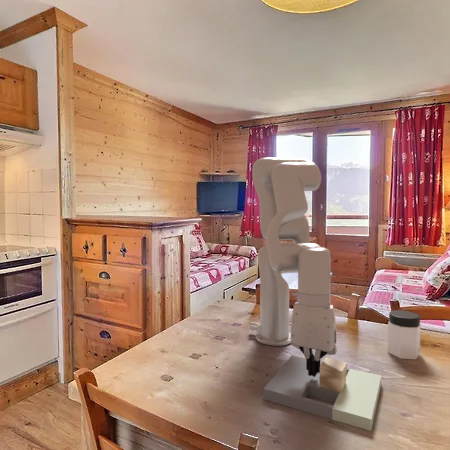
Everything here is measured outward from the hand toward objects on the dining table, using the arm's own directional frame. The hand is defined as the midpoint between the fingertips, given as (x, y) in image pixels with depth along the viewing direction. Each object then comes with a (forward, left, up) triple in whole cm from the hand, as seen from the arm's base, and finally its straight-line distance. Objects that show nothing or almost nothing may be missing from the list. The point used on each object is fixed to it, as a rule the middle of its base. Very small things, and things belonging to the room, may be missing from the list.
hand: (313, 373), depth 83 cm
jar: (+18, +33, -4) cm, 38 cm away
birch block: (+5, 0, -1) cm, 5 cm away
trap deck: (+3, 0, -4) cm, 5 cm away
